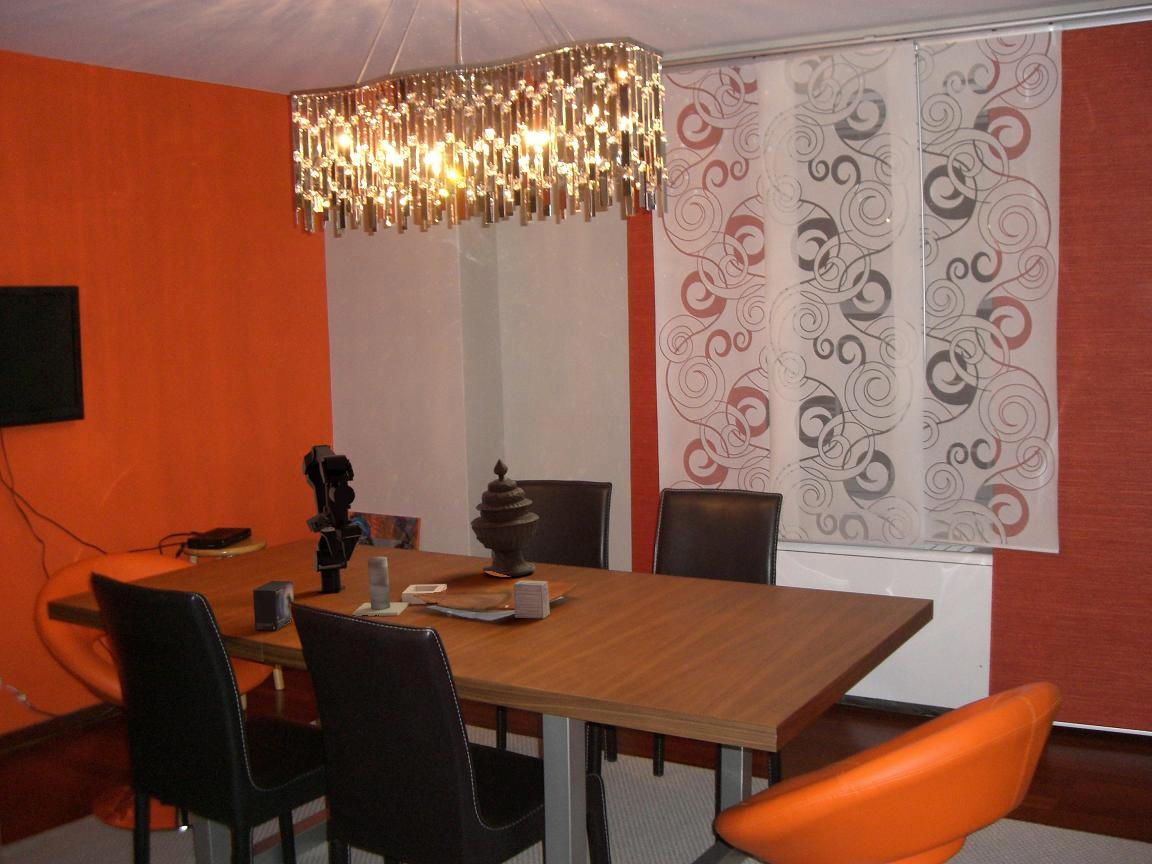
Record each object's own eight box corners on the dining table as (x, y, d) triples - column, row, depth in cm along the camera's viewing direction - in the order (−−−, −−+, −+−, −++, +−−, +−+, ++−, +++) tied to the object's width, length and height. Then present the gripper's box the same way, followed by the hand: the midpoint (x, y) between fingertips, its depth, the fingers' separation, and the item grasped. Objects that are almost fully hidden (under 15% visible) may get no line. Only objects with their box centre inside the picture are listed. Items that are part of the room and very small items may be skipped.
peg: (380, 604, 301) (376, 556, 300) (394, 606, 299) (391, 557, 297) (367, 608, 297) (363, 560, 296) (381, 610, 294) (377, 561, 293)
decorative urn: (550, 562, 346) (538, 450, 341) (537, 582, 326) (523, 463, 321) (486, 566, 350) (473, 455, 344) (469, 585, 330) (455, 468, 325)
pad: (364, 605, 304) (364, 602, 304) (408, 605, 303) (408, 602, 303) (352, 616, 293) (352, 613, 293) (397, 615, 292) (397, 612, 292)
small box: (278, 631, 281) (275, 589, 280) (253, 631, 283) (250, 589, 282) (296, 620, 292) (294, 580, 291) (273, 620, 293) (270, 580, 292)
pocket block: (411, 595, 314) (410, 584, 313) (447, 594, 313) (446, 584, 312) (402, 604, 304) (401, 593, 304) (438, 603, 303) (438, 592, 302)
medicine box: (550, 614, 286) (548, 581, 285) (544, 619, 281) (542, 585, 281) (521, 613, 288) (519, 580, 287) (514, 618, 284) (512, 584, 283)
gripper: (295, 502, 310) (299, 558, 312) (322, 509, 295) (326, 568, 296) (334, 497, 317) (337, 552, 318) (361, 503, 301) (365, 561, 303)
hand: (340, 558), depth 309 cm, fingers open, 9 cm apart
